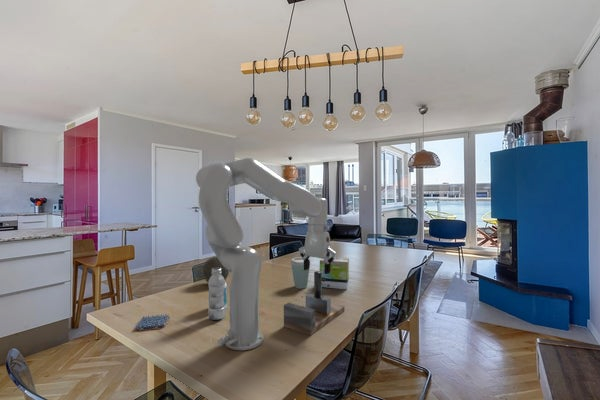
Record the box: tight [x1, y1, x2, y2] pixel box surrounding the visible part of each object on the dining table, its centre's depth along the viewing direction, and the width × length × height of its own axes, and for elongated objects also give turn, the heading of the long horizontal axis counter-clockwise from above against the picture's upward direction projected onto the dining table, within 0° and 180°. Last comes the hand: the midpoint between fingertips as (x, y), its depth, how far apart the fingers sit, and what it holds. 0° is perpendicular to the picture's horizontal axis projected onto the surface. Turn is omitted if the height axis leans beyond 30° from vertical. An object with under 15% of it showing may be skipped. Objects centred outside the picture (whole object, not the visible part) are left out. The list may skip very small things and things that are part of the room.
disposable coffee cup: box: [290, 257, 310, 289], centre depth 153 cm, size 11×11×15 cm
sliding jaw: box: [305, 270, 332, 315], centre depth 114 cm, size 3×10×16 cm, turn 55°
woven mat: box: [135, 314, 171, 332], centre depth 108 cm, size 10×11×2 cm
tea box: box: [319, 256, 350, 290], centre depth 154 cm, size 15×10×15 cm, turn 76°
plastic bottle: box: [207, 267, 226, 321], centre depth 113 cm, size 6×7×20 cm
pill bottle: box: [208, 277, 228, 310], centre depth 123 cm, size 8×7×14 cm
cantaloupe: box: [202, 256, 230, 283], centre depth 158 cm, size 14×14×15 cm
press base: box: [283, 302, 345, 336], centre depth 113 cm, size 26×12×8 cm, turn 145°
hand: (316, 271), depth 114 cm, fingers open, 9 cm apart
